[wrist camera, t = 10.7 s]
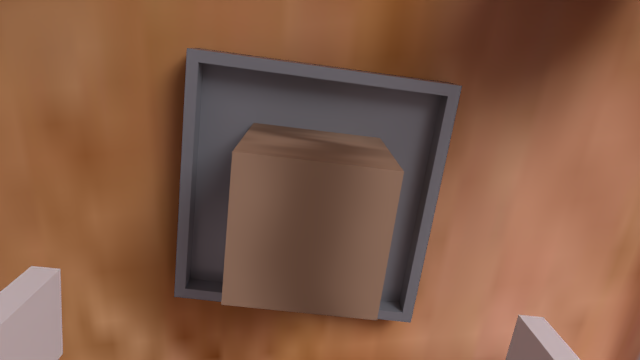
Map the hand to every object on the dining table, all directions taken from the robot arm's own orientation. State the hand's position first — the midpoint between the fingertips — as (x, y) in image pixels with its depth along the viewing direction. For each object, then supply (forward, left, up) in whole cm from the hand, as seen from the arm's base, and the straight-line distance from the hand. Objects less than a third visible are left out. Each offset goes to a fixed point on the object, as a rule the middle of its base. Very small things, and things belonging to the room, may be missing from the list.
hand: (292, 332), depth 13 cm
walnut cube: (0, 0, -14) cm, 14 cm away
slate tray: (0, 0, -14) cm, 14 cm away
